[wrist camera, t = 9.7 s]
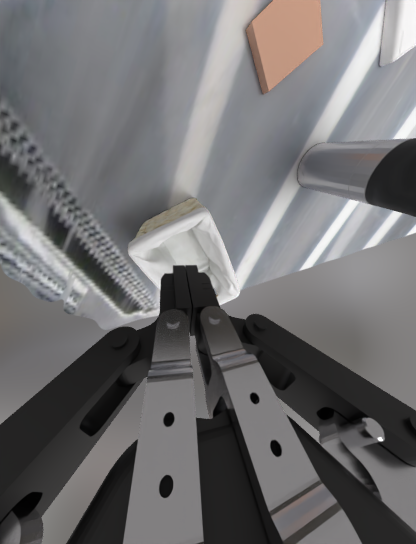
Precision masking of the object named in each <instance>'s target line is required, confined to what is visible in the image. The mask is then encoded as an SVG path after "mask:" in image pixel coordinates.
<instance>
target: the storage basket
mask: <svg viewBox="0 0 416 544" xmlns="http://www.w3.org/2000/svg"><path fill="white" fill-rule="evenodd" d="M128 253H129V256H130V257H131V258H132V259H133V261H134V262H135V263H136V264H137V265H138V267H139V268H140V269H141V270H142V271H143V272H144V274H145V275H146V276H147V277H148V278H149V279H150V280H151V281H152V282H153V283H154V285H155V286H156V287H157V288H158V289H159V290H160V289H161V278H162V276H163V275H164V273H173V265H184V266H185V265H197V268H198V272H205V273H206V274H207V275H208V276H209V277H210V280H211V284H212V286H213V288H214V289H215V290H216V291H217V295H216V297H217V300H218V303H219V305H221V304H224V303H226V302H228V301H230V300H232V299H235V298H236V297H238V295H239V294H240V288H239V285H238V281H237V278H236V275H235V272H234V270H233V267H232V264H231V262H230V259H229V256H228V254H227V251H226V248H225V245H224V243H223V240H222V238H221V236H220V234H219V231H218V229H217V227H216V225H215V222H214V220H213V218H212V216H211V214H210V212H209V210H208V209H207V208H205V207H204V206H202V205H201V204H200V203H199V202H198V201H197V199H194V198H191V199H188V200H186V201H185V202H182V203H180V204H178V205H177V206H174V207H172V208H170V209H169V210H166V211H164V212H162V213H160V214H159V215H157V216H154V217H153V218H152V219H149V220H147V221H145V222H144V223H143V224H142V226H141V228H140V229H139V232H138V233H137V235H136V238H134V240H133V241H131V242H130V243H129V245H128Z"/></svg>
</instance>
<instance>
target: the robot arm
mask: <svg viewBox="0 0 416 544" xmlns="http://www.w3.org/2000/svg"><path fill="white" fill-rule="evenodd" d="M298 181H299V183H300V185H301V186H303V187H305V188H309V189H313V190H316V191H320V192H324V193H328V194H332V195H336V196H340V197H343V198H347V199H351V200H355V201H359V202H363V203H367V204H371V205H375V206H379V207H382V208H386V209H390V210H394V211H397V212H401V213H405V214H408V215H411V216H414V217H416V138H414V139H393V140H375V141H354V142H331V143H319V144H317V145H315V146H313V147H312V148H311V149H310V150H309V151H308V152H307V153H306V154H305V155H304V157H303V159H302V160H301V163H300V165H299V168H298ZM189 332H190V336H193V335H195V338H196V353H197V357H198V362H199V366H200V370H201V374H202V378H203V382H204V387H205V398H206V405H207V410H208V414H209V419H202V418H196V411H195V395H194V380H193V368H192V365H191V354H190V336H189ZM145 377H147V382H146V389H145V396H144V403H143V410H142V416H141V424H140V430H139V437H138V439H137V440H136V441H135V442H134V443H133V444H132V445H131V446H130V447H128V449H126V451H125V452H124V453H123V454H122V455H121V457H120V458H119V459H118V460H117V462H116V463H115V464H114V466H113V467H112V469H111V470H110V472H109V473H108V475H107V476H106V478H105V480H104V481H103V483H102V485H101V486H100V488H99V490H98V491H97V493H96V495H95V496H94V498H93V500H92V501H91V503H90V505H89V506H88V508H87V510H86V511H85V513H84V515H83V516H82V518H81V520H80V521H79V523H78V525H77V527H76V528H75V530H74V531H73V533H72V535H71V536H70V538H69V540H68V542H67V543H66V544H416V411H415V410H414V409H412V408H411V407H409V406H407V405H406V404H404V403H402V402H401V401H399V400H398V399H396V398H394V397H393V396H391V395H390V394H388V393H387V392H385V391H383V390H381V389H380V388H378V387H377V386H375V385H374V384H372V383H370V382H369V381H367V380H366V379H364V378H362V377H361V376H359V375H358V374H356V373H354V372H353V371H351V370H350V369H348V368H346V367H345V366H343V365H342V364H340V363H338V362H337V361H335V360H334V359H332V358H330V357H329V356H327V355H325V354H324V353H322V352H321V351H319V350H317V349H316V348H314V347H312V346H311V345H309V344H308V343H306V342H305V341H303V340H301V339H300V338H298V337H296V336H295V335H293V334H291V333H290V332H289V331H287V330H285V329H284V328H282V327H280V326H279V325H277V324H276V323H274V322H272V321H271V320H269V319H268V318H266V317H264V316H262V315H259V314H252V315H249V316H248V317H247V319H246V320H245V319H239V318H235V317H231V316H229V315H228V314H227V313H226V312H225V311H224V310H223V309H221V308H220V305H219V303H218V300H217V297H216V294H215V291H214V289H213V286H212V284H211V280H210V277H209V276H208V275H207V274H206V273H205V272H198V268H197V265H185V266H184V265H173V273H164V275H163V276H162V278H161V289H160V314H159V317H158V318H157V320H156V321H155V322H154V323H152V324H151V325H149V326H147V327H145V328H142V329H139V330H137V331H136V330H135V329H134V328H132V327H119V328H116V329H114V330H112V331H110V332H109V333H107V334H106V335H105V336H104V337H103V338H102V339H100V340H99V341H98V342H97V343H96V344H94V345H93V346H92V347H91V348H90V349H89V350H87V351H86V352H85V353H84V354H83V355H82V356H80V357H79V358H78V359H77V360H76V361H74V362H73V363H72V364H71V365H70V366H69V367H67V368H66V369H65V370H64V371H63V372H61V373H60V374H59V375H58V376H57V377H56V378H54V379H53V380H52V381H51V382H50V383H49V384H47V385H46V386H45V387H44V388H43V389H42V390H40V391H39V392H38V393H37V394H36V395H35V396H33V397H32V398H31V399H30V400H29V401H27V402H26V403H25V404H24V405H23V406H22V407H20V408H19V409H18V410H17V411H16V412H15V413H14V414H12V415H11V416H10V417H9V418H8V419H6V420H5V421H4V422H3V423H2V424H1V425H0V544H41V543H42V539H43V521H42V518H41V517H42V515H43V514H44V513H45V511H46V510H47V509H48V507H49V506H50V505H51V503H52V502H53V500H54V499H55V498H56V497H57V495H58V494H59V493H60V491H61V490H62V489H63V487H64V486H65V484H66V483H67V482H68V480H69V479H70V478H71V476H72V475H73V474H74V472H75V471H76V470H77V468H78V467H79V465H80V464H81V463H82V462H83V460H84V459H85V457H86V456H87V455H88V453H89V452H90V451H91V449H92V448H93V447H94V445H95V444H96V443H97V441H98V440H99V439H100V437H101V436H102V434H103V433H104V432H105V430H106V429H107V428H108V426H109V425H110V424H111V422H112V421H113V420H114V418H115V417H116V416H117V414H118V413H119V412H120V410H121V409H122V408H123V406H124V405H125V404H126V402H127V401H128V399H129V398H130V397H131V395H132V394H133V393H134V391H135V390H136V389H137V387H138V386H139V385H140V383H141V382H142V380H143V379H144V378H145ZM277 397H278V398H280V399H281V400H282V401H283V402H284V403H286V404H287V405H288V406H289V407H290V408H292V409H293V410H294V411H295V412H296V413H298V414H299V415H300V416H301V417H302V418H304V419H305V420H306V421H307V422H308V423H310V424H311V425H312V426H313V427H314V428H316V429H317V430H318V431H319V434H320V436H319V442H320V444H319V443H318V442H317V441H316V440H315V439H313V438H312V437H311V436H310V435H309V434H308V433H307V432H306V431H305V430H304V429H302V428H301V427H300V426H299V425H298V424H297V423H296V422H295V421H294V420H293V419H291V418H290V417H289V416H288V415H286V413H285V412H284V410H283V408H282V406H281V404H280V402H279V400H278V398H277Z"/></svg>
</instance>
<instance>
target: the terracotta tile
mask: <svg viewBox="0 0 416 544" xmlns="http://www.w3.org/2000/svg"><path fill="white" fill-rule="evenodd" d="M246 33H247V36H248V40H249V44H250V48H251V51H252V55H253V59H254V62H255V66H256V70H257V74H258V77H259V81H260V85H261V89H262V92H263V94H265V93H267V92H269V91H270V90H271V89H272V88H273V87H275V86H276V85H277V84H278V83H279V82H280V81H281V80H283V79H284V78H285V77H286V76H287V75H288V74H290V73H291V72H292V71H293V70H294V69H295V68H296V67H298V66H299V65H300V64H301V63H302V62H303V61H304V60H306V59H307V58H308V57H309V56H310V55H311V54H313V53H314V52H315V51H316V50H317V49H318V48H319V47H321V46H322V45H323V34H322V20H321V7H320V0H273V1H272V2H271V3H270V4H269V5H268V6H267V7H266V8H265V9H264V10H263V11H262V12H261V13H260V14H259V15H258V16H257V17H256V18H255V19H254V20H253V21H252V22H251V23H250V25H249V26H248V28H247V29H246Z"/></svg>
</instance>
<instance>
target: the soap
mask: <svg viewBox="0 0 416 544" xmlns="http://www.w3.org/2000/svg"><path fill="white" fill-rule="evenodd" d="M415 46H416V0H386V7H385V15H384V24H383V34H382V43H381V52H380V62H379V65H380V66H384V65H387V64H390V63H392V62H394V61H396V60H397V59H398V58H400V57H401V56H402V55H404V54H405V53H406V52H408V51H409V50H411V49H412V48H413V47H415Z"/></svg>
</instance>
